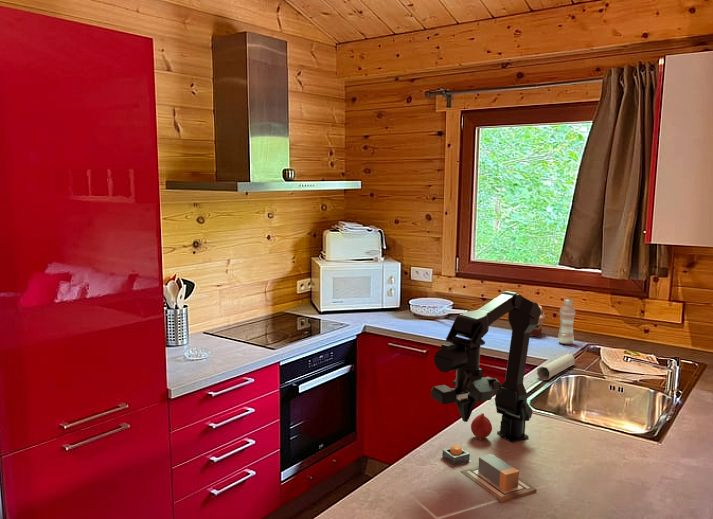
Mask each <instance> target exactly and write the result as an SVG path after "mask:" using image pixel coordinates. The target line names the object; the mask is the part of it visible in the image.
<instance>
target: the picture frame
mask: <svg viewBox="0 0 713 519" xmlns="http://www.w3.org/2000/svg"><path fill="white" fill-rule="evenodd" d="M478 467H479V465H478V466H475V467H471V468H467V469H462V470H460V472H461V473H462V474H463V475H465V476H466V477H468V478H469V479H471V481H473V482H474V483H475V484H477V485H478V486H479V487H480V488H482V489H484V490H486V491H487V492H488V493H489V494H491V495H492V496H494V497H495V498H496V501H498V502H499V503H502V502H506V501H510V500H513V499H517V498H519V497H523V496H526V495H529V494H533V493H536V492H537V488H535V487H534V486H532V485H530V484H529V483H528V482H526V481H524V480H523V479H521V478H520V477H519V482H518V487H517V488H514V489H510V490H507V491H504V490H503V489H501V488H500V487H499V486H497V485H496V484H495V483H493V482H492V481H490V480H489V479H487V478H486V477H485V476H483V475H482V474H480V473H479V472H478Z"/></svg>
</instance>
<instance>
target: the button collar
mask: <svg viewBox="0 0 713 519" xmlns="http://www.w3.org/2000/svg"><path fill="white" fill-rule="evenodd" d="M441 454H442V455H439V457H440V458H441V459H443V460H444V461H445V462H447V463H448V464H450V466H452V467H456V466H460V465H464V464H469V463H472V462H473V461H472V460H471V457H470V456H471V455H470V454H471V453H470V452H468V451H467V450H465V449H463V448H462V454H461V455H457V456H454V455H452V454H451V453H450V447H448V448H443V449H442V453H441Z"/></svg>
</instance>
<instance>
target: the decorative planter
mask: <svg viewBox="0 0 713 519" xmlns="http://www.w3.org/2000/svg"><path fill="white" fill-rule="evenodd" d="M538 306H539V307H540V309H541V314H540V317H539V320H538V324H537V326H536V327H535V328H534V329H533V330H532V332H531V333H530V337H531V336H540V335H542V330H543V328H542V327H543V326H542V325H543V323H544V322H546V318H547V317H546V314H545V313H544V310H543V307H542V305H540V304H538Z"/></svg>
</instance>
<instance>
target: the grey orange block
mask: <svg viewBox="0 0 713 519" xmlns="http://www.w3.org/2000/svg"><path fill="white" fill-rule="evenodd" d="M478 466H479V467H478ZM478 466H477V467H478V472H479V473H480V474H482V475H483V476H485V477H486V478H487V479H489V480H490V481H492V482H493V483H495V484H496V485H497V486H499V487H500V488H501V489H503V490H504V491H507V490H510V489H514V488H517V487H518V482H519V478H520V470H518V469H517V468H516V467H513V466H512V465H510V464H508V463H507V462H505V461H503V460H502V459H500V458H499V457H497V456H496V455H494V454H492V453H490V454H485V455H482V456H479V457H478Z"/></svg>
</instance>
